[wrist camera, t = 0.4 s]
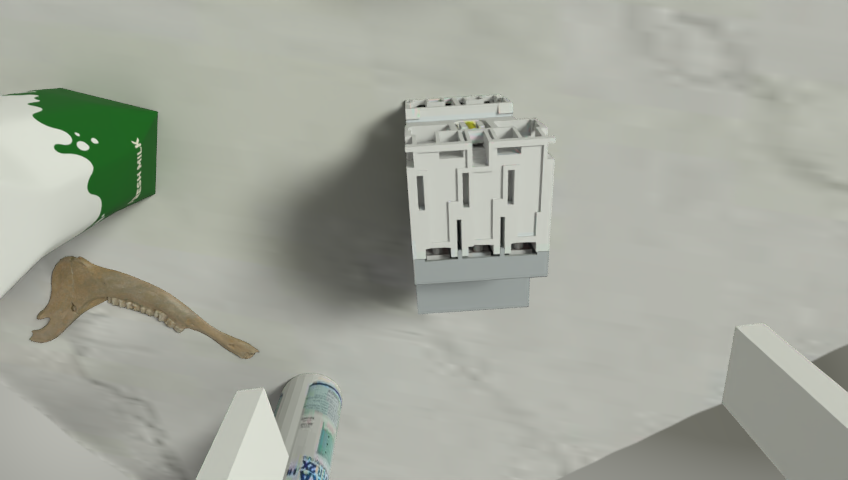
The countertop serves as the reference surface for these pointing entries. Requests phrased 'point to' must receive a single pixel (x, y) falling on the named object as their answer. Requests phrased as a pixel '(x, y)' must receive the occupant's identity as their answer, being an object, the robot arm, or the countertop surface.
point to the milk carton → (66, 170)
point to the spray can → (309, 425)
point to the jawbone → (119, 302)
